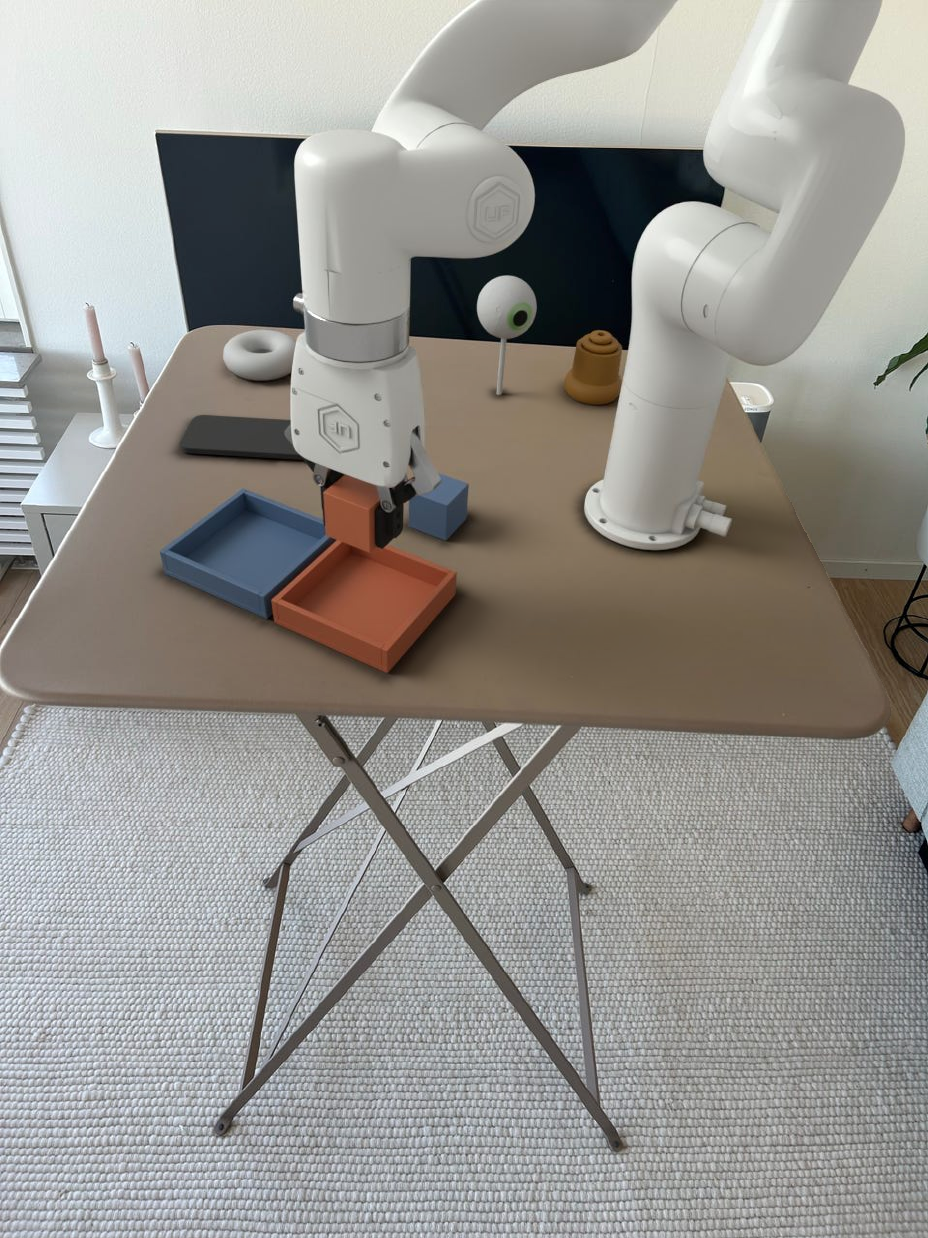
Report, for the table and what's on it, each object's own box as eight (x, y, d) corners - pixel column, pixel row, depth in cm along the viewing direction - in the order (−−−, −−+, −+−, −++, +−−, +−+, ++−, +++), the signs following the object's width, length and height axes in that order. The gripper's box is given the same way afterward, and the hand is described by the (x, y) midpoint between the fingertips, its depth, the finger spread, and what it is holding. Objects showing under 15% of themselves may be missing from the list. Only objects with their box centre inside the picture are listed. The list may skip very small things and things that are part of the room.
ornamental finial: (622, 383, 117) (617, 411, 111) (567, 375, 118) (559, 402, 112) (633, 325, 111) (628, 351, 106) (575, 317, 112) (567, 342, 107)
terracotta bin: (455, 594, 84) (457, 572, 83) (387, 673, 76) (387, 651, 74) (349, 551, 88) (348, 529, 86) (273, 622, 80) (271, 600, 78)
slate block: (466, 518, 93) (469, 483, 90) (445, 541, 90) (447, 505, 87) (430, 505, 95) (431, 470, 92) (408, 526, 92) (408, 491, 89)
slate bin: (342, 548, 89) (341, 526, 87) (266, 619, 81) (263, 596, 79) (246, 510, 92) (242, 487, 91) (164, 573, 84) (159, 551, 83)
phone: (194, 413, 104) (321, 421, 104) (195, 419, 105) (321, 427, 105) (176, 447, 99) (310, 455, 99) (178, 453, 99) (310, 461, 99)
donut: (280, 392, 111) (315, 357, 118) (277, 367, 108) (313, 332, 115) (210, 376, 113) (248, 342, 120) (205, 351, 110) (245, 318, 117)
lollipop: (488, 412, 110) (497, 293, 99) (461, 386, 114) (468, 270, 104) (536, 401, 112) (550, 284, 102) (509, 376, 117) (520, 262, 106)
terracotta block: (398, 526, 77) (398, 483, 74) (370, 553, 74) (369, 509, 71) (355, 509, 78) (353, 466, 75) (325, 535, 75) (322, 492, 72)
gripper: (230, 315, 64) (256, 519, 76) (432, 380, 58) (424, 588, 71) (293, 281, 69) (307, 478, 81) (485, 338, 63) (469, 539, 76)
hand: (362, 527), depth 76 cm, fingers closed on terracotta block, 4 cm apart
